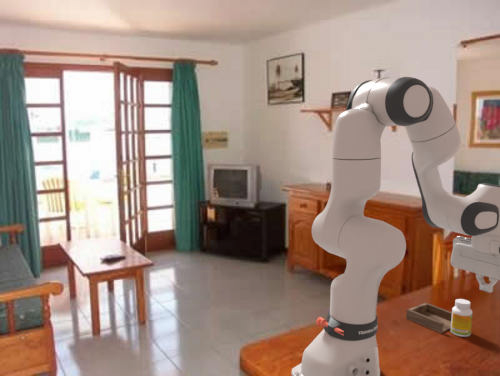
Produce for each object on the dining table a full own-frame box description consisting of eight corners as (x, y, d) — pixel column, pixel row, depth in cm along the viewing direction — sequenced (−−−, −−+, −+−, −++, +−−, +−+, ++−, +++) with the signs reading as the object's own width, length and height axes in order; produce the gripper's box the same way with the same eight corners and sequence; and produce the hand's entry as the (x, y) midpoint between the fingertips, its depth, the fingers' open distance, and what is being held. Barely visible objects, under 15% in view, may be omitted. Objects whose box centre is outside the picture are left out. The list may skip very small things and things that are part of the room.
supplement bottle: (473, 338, 128) (475, 305, 127) (452, 336, 130) (455, 304, 128) (467, 329, 134) (470, 298, 132) (448, 328, 135) (450, 297, 133)
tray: (441, 333, 131) (441, 323, 131) (406, 318, 141) (406, 309, 141) (460, 324, 137) (461, 315, 136) (425, 311, 147) (426, 302, 146)
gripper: (447, 236, 129) (444, 282, 131) (522, 253, 112) (518, 305, 115) (459, 232, 133) (457, 277, 135) (534, 249, 116) (530, 299, 118)
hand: (485, 290), depth 125 cm, fingers closed
